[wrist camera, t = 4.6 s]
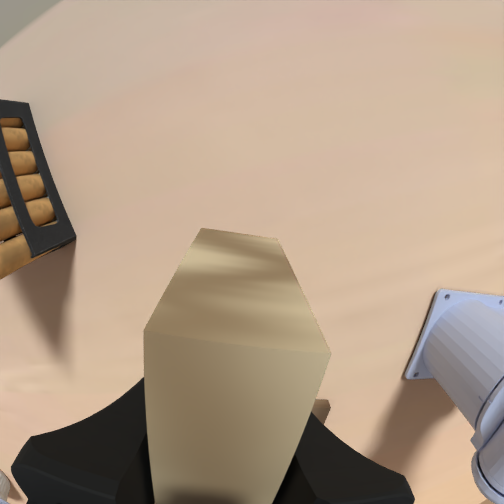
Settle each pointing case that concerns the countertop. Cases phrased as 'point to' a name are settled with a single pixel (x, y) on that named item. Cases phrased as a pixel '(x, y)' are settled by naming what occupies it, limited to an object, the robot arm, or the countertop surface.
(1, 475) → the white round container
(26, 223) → the ammunition clip
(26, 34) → the countertop surface
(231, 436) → the beige wooden block
